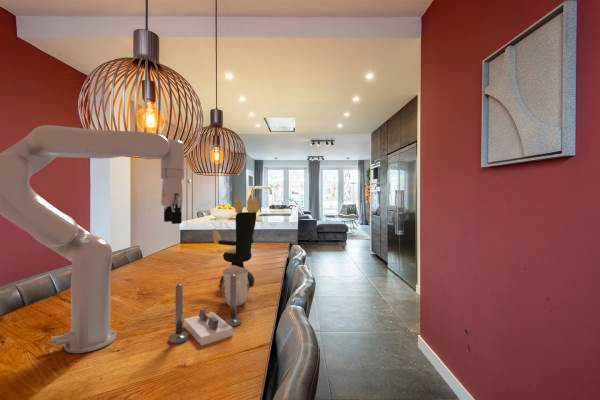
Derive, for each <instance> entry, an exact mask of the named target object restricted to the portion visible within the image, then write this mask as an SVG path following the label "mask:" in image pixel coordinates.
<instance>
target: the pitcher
mask: <svg viewBox="0 0 600 400" xmlns="http://www.w3.org/2000/svg"><path fill="white" fill-rule="evenodd" d="M248 271H249V270H248V269H247V268H245V267H244V268H242V267H238V266H236V265H232V264H231V265H230V266H229V267H227V268H225V269H223V270H222V276H223V277H224V278H223V282H222V285H221V292H222V297H223V300H224V302H225V303H226V304H227V305H228V306H230V277H231V275H233V274H234V275H236V307H238V306H239V307H240V306H241V305H243V304H244V303H245V302H246V300H247V299H248V298H247V297H248V295H249V290H250V286H249V281H248V278H247V275H248Z"/></svg>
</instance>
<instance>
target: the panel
mask: <svg viewBox="0 0 600 400" xmlns="http://www.w3.org/2000/svg"><path fill="white" fill-rule="evenodd" d="M209 315H211V316H212V317H215V318H216V319H217V320H218V327H217V329H212V328H211V327H209V326H208V321H209V318H208V320H202V319H201V318H200V317H199V314H198V315H195V316H192V317H191V316H190V317H187V318H183V327H184V329H186V331H188V334H190V335H191V336H192V337H193V338H194V339H195V341H196V342H198V344H199V345H200V346H201V347H202V346H205V345H208V344H212V343H215V342H217V341H221V340H224V339H227V338H230V337H233V335H234V330H233V329H234V327H231V326H230V325H229V324H227V323H226V322H225V320H224V319H222V318H221V317H220V316H219V315H217V314H216V313H215V312H214V311H210V312H209Z"/></svg>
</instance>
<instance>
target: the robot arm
mask: <svg viewBox="0 0 600 400" xmlns="http://www.w3.org/2000/svg"><path fill="white" fill-rule="evenodd" d="M119 157H140V158H141V159H144V160H160V179H161V180H162V184H161V201H160V204H161V206H162V207H164V208H163V221H164V222H165V223H168V222H170V223H171V224H172V225H178V224H182V215H183V214H182V210H183V209H182V207H183V182H182V180H184V179H185V144H184V143H183V141H181V140H178V139H170V138H168V139H167V138H166V137H165V136H164V135H162V134H159V133H155V132H146V131H145V132H144V131H135V130H133V131H132V130H111V129H110V130H109V129H105V130H104V129H94V128H91V129H90V128H84V127H83V128H81V127H73V126H72V127H71V126H61V125H50V124H49V125H48V124H47V125H46V124H45V125H40V126H37V127H35V128H33V130H31V132H29V134H27V135H26V136H25V137H23V138H22V139H20V140H19V141H17V142H16V143H14V144H13V145H12V146H10V147H8V148H7V149H5V150H4V151H2V152H0V216H2V217H3V218H5V219H6V220H8V221H10V222H11V223H12V224H14V225H15V226H17V228H19V229H20V230H22V231H24V232H26V233H27V234H29V235H31V236H32V238H33V239H34V240H36V241H37V242H38V243H40V244H42V245H44V246H45V247H47V248H49V249H50V250H51V251H53V252H55V253H56V254H58V255H60V256H61V257H63V258H65V259H66V260H68V261H69V262H71V265H72V266H71V277H70V328H69V331H68V332H65V333H64V334H61V335H54V336H51V337H50V345H54V344H55V346H56V347H58V346H60V345H63V346H64V349H63V350H65V352H67V353H70V354H83V353H88V352H92V351H97V350H99V349H102V348H105V347H106V346H109V345H111V344H112V343H113V342H114V341H115V340H116V338H117V331H115V330H113V329H111V272H112V264H113V250H112V246H111V245H110V244H109V242H108V241H107V240H105V239H104V238H103V237H99V236H96V235H94V234H92V233H91V232H89V231H87V230H86V229H84V228H83V227H82V226H80V225H79V224H78V223H77V222H76V220H74V218H73V217H71V216H70V215H69V214H66V213H64V212H63V211H61V210H59V209H58V208H57V207H55V206H54V205H52V204H51V203H50V202H49V201H47V200H45V199H44V198H43V197H41V195H39V194H37V193H36V191H35V190H34V189H33V188H32V186H31V184H30V179H31V178H32V176H33V175H35V174H36V173H37V172H39V171H40V170H42V169H43V168H44V167H45V166H47V165H48V164H50V163H51V162H52V161H54V160H55V159H56V158H71V159H72V158H74V159H75V158H77V159H80V158H81V159H99V160H100V159H113V158H119Z"/></svg>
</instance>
